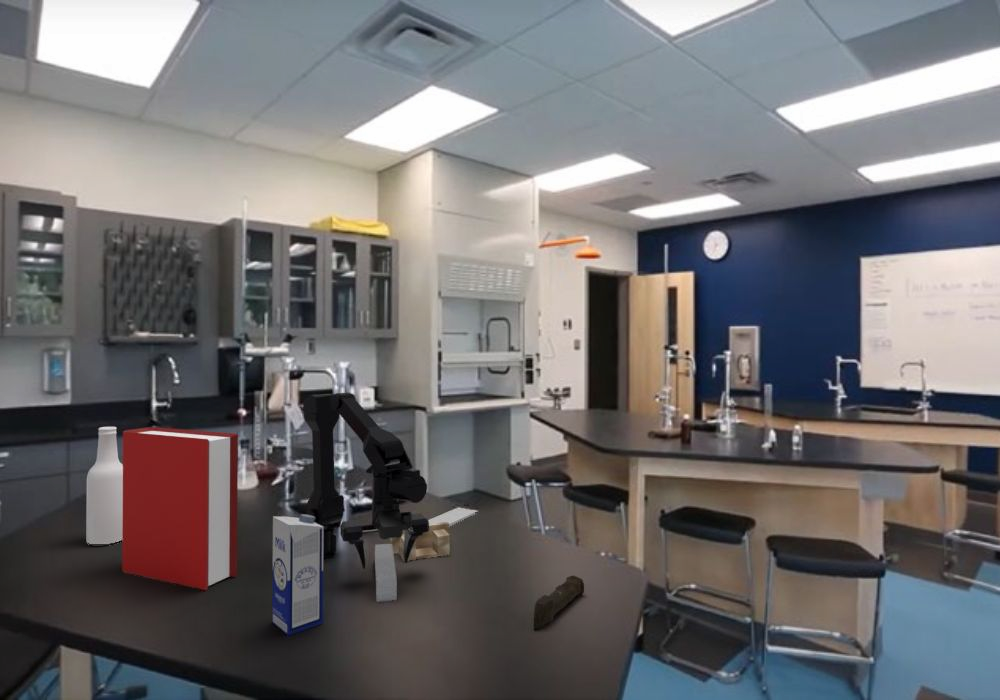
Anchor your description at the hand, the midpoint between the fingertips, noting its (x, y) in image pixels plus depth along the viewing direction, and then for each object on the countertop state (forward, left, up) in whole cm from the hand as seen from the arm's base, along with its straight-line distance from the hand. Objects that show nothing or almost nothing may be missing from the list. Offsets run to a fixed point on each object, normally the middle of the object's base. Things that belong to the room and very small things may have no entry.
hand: (384, 565), depth 127 cm
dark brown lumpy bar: (+29, -28, -4) cm, 40 cm away
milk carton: (-19, -14, -3) cm, 24 cm away
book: (-43, +20, -3) cm, 47 cm away
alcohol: (-63, +51, -3) cm, 81 cm away
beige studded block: (+12, +13, -3) cm, 18 cm away
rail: (0, 0, -4) cm, 4 cm away
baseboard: (+22, +35, -4) cm, 41 cm away
